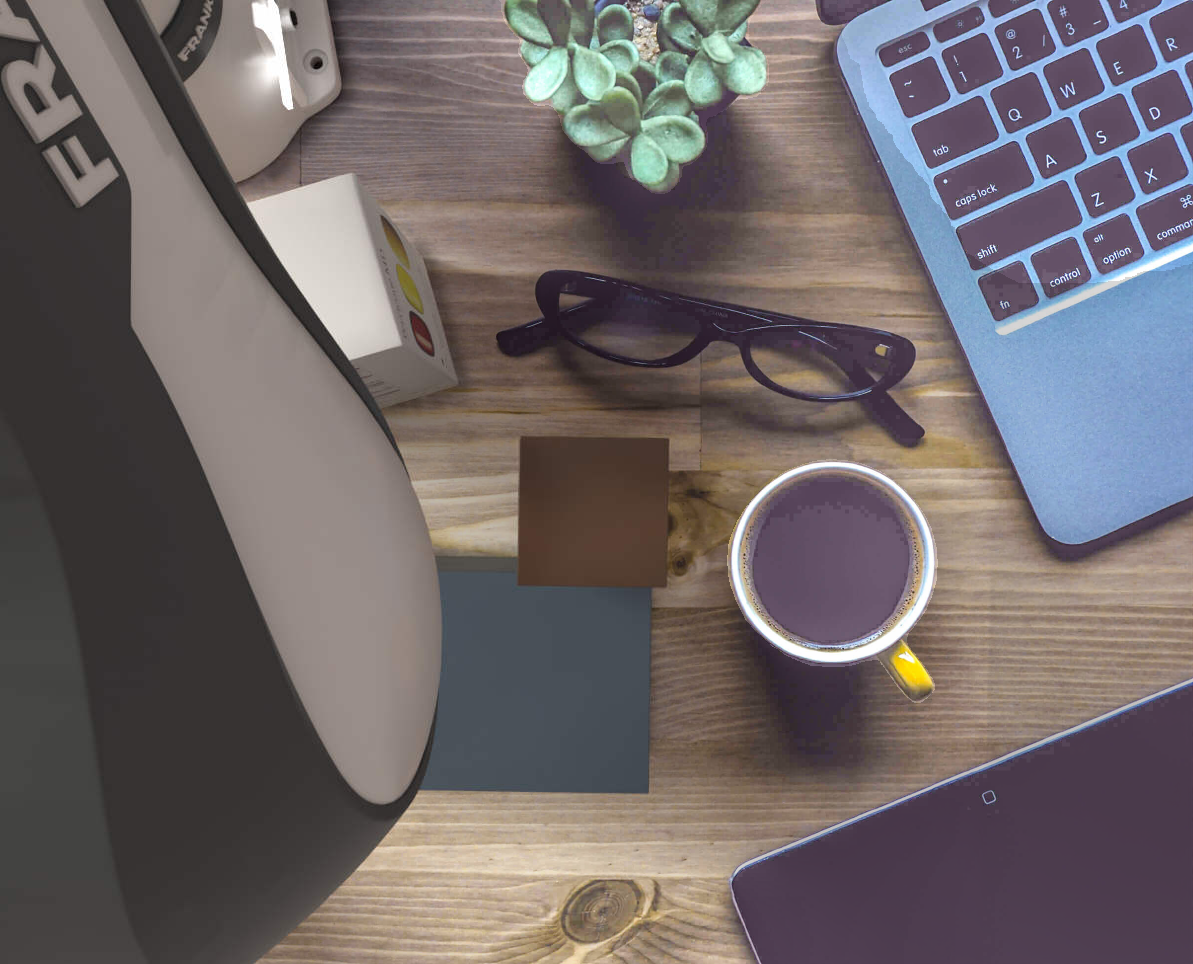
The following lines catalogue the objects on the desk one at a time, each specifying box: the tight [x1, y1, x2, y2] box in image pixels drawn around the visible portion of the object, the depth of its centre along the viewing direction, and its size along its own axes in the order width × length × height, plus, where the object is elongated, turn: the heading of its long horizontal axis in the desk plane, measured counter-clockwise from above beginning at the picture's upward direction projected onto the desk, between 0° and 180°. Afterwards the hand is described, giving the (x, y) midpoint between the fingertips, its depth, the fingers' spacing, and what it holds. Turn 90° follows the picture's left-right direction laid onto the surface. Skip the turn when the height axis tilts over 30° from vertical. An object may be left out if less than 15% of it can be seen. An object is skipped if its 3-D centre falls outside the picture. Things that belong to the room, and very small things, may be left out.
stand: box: [516, 435, 670, 589], centre depth 48 cm, size 6×6×25 cm
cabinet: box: [419, 555, 653, 795], centre depth 56 cm, size 15×13×10 cm
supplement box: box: [246, 171, 459, 410], centre depth 52 cm, size 10×9×17 cm
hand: (224, 768), depth 36 cm, fingers closed on block, 4 cm apart
